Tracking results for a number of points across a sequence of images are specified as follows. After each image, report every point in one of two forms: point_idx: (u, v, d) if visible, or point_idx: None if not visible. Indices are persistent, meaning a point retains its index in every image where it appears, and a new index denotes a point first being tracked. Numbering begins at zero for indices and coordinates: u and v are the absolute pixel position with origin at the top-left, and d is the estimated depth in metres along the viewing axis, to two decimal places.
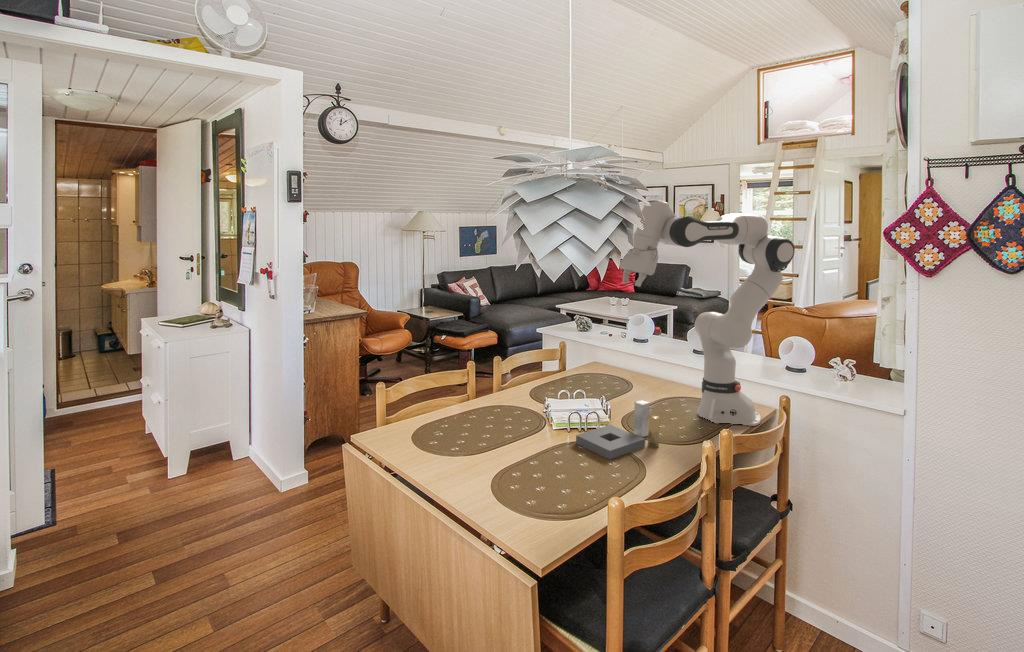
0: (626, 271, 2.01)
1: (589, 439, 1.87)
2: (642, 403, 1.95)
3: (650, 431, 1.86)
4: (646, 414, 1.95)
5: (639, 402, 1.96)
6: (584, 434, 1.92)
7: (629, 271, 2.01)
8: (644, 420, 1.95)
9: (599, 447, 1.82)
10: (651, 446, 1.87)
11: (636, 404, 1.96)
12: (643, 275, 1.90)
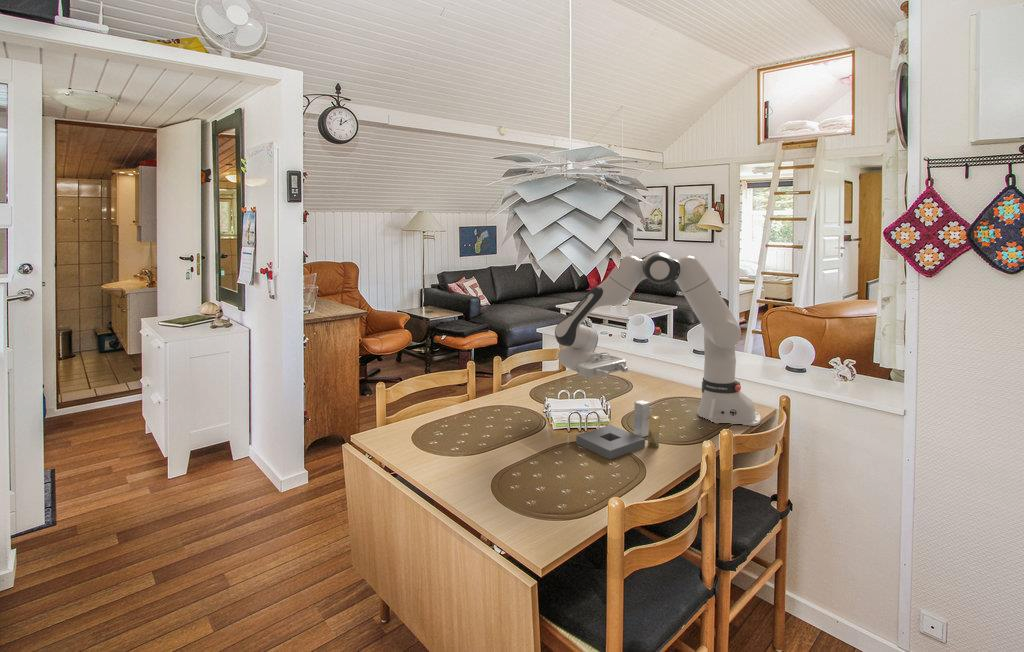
0: (619, 368, 2.10)
1: (589, 439, 1.87)
2: (642, 403, 1.95)
3: (650, 431, 1.86)
4: (646, 414, 1.95)
5: (639, 402, 1.96)
6: (584, 434, 1.92)
7: (618, 365, 2.10)
8: (644, 420, 1.95)
9: (599, 447, 1.82)
10: (651, 446, 1.87)
11: (636, 404, 1.96)
12: (596, 372, 2.03)
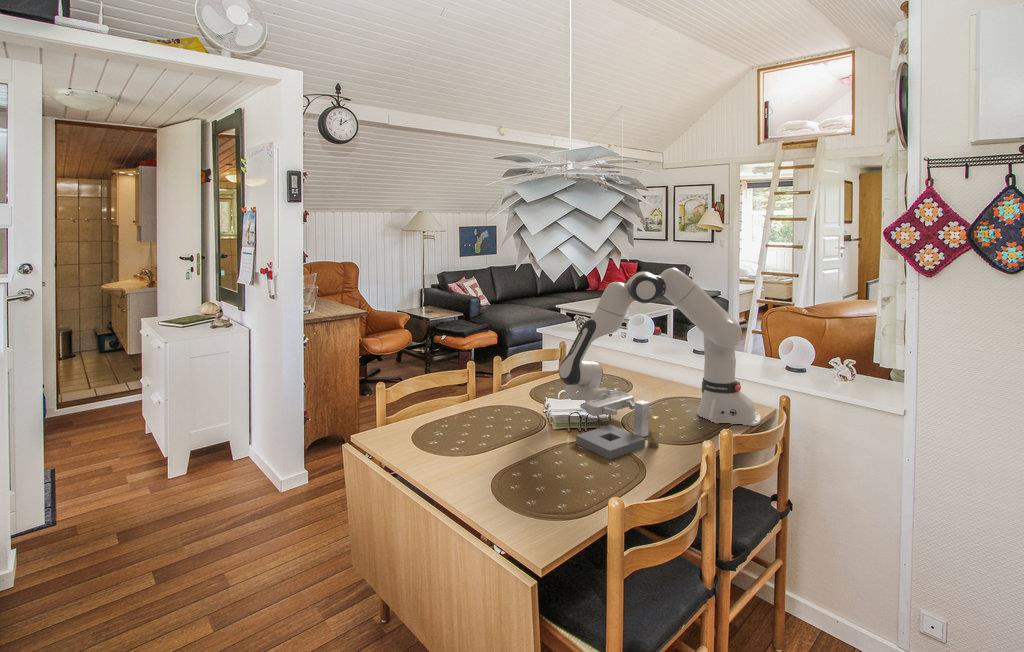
0: (627, 405, 2.10)
1: (589, 439, 1.87)
2: (642, 403, 1.95)
3: (650, 431, 1.86)
4: (646, 414, 1.95)
5: (639, 402, 1.96)
6: (584, 434, 1.92)
7: (626, 402, 2.10)
8: (644, 420, 1.95)
9: (599, 447, 1.82)
10: (651, 446, 1.87)
11: (636, 404, 1.96)
12: (604, 410, 2.03)
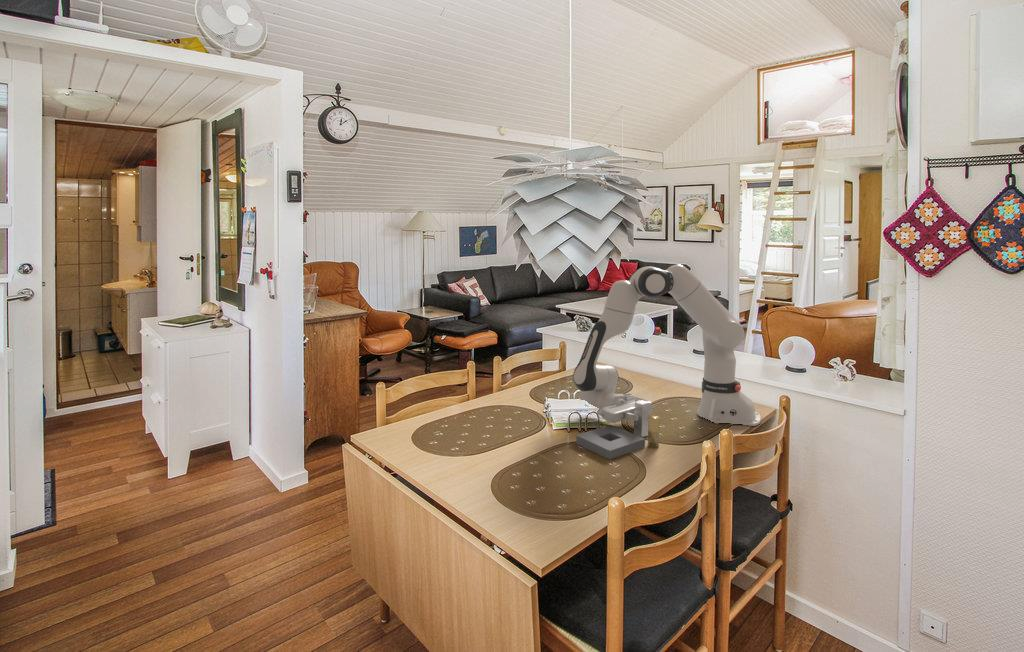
0: None
1: (589, 439, 1.87)
2: (642, 403, 1.95)
3: (650, 431, 1.86)
4: (646, 414, 1.95)
5: (639, 402, 1.96)
6: (584, 434, 1.92)
7: None
8: (644, 420, 1.95)
9: (599, 447, 1.82)
10: (651, 446, 1.87)
11: (636, 404, 1.96)
12: (626, 415, 1.97)
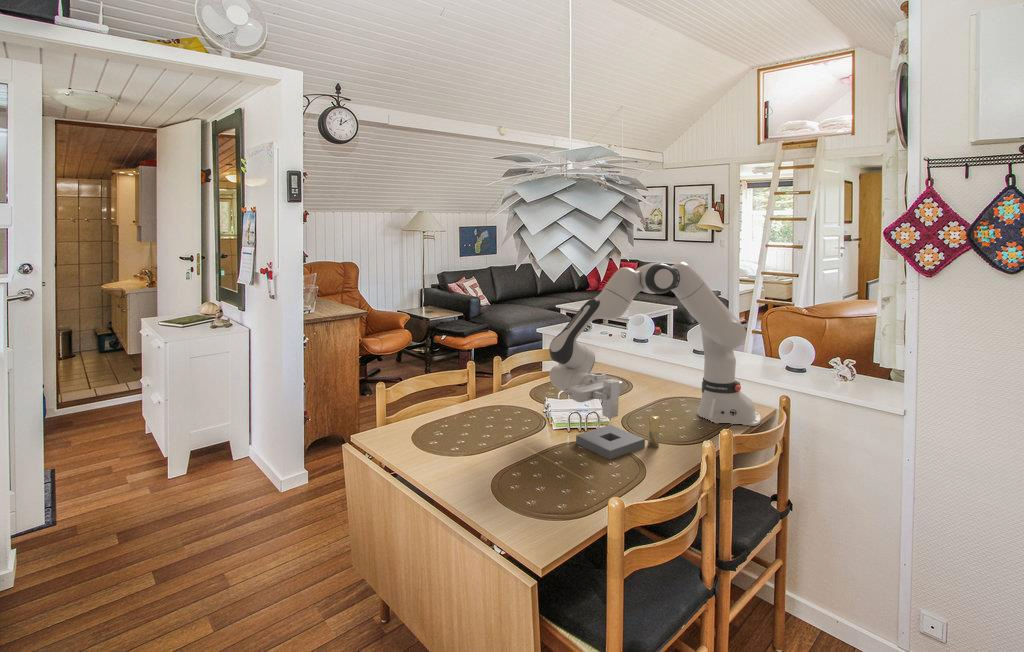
0: None
1: (589, 439, 1.87)
2: (611, 382, 1.84)
3: (650, 431, 1.86)
4: (615, 393, 1.85)
5: (608, 381, 1.85)
6: (584, 434, 1.92)
7: None
8: (613, 399, 1.85)
9: (599, 447, 1.82)
10: (651, 446, 1.87)
11: (605, 383, 1.85)
12: (594, 395, 1.87)
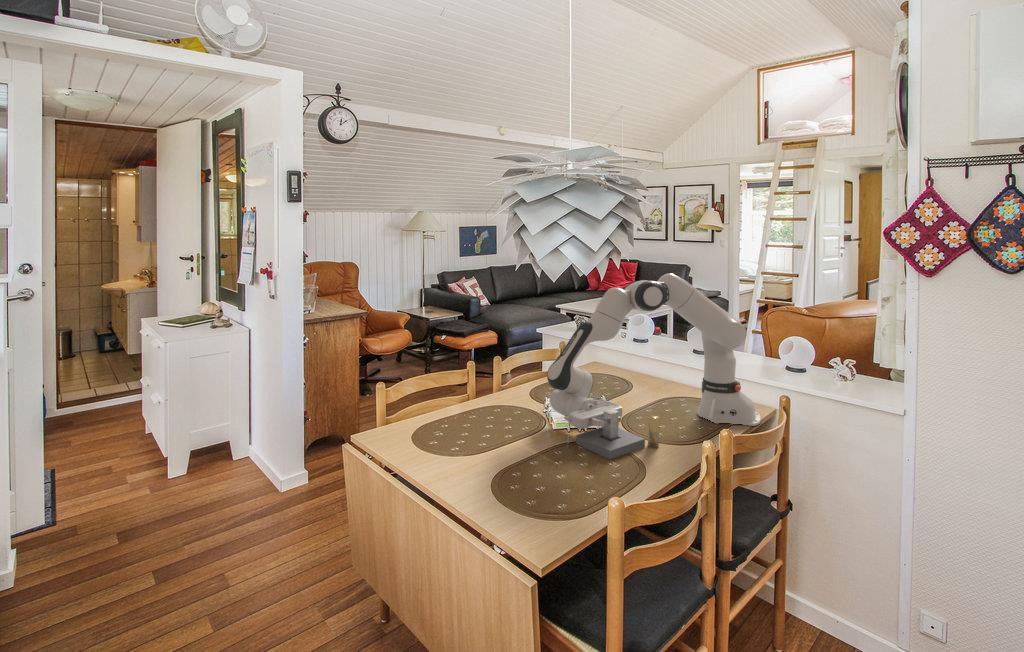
0: None
1: (589, 439, 1.87)
2: (611, 412, 1.86)
3: (650, 431, 1.86)
4: (615, 424, 1.87)
5: (608, 411, 1.87)
6: (584, 434, 1.92)
7: None
8: (612, 430, 1.87)
9: (599, 447, 1.82)
10: (651, 446, 1.87)
11: (605, 413, 1.87)
12: (592, 421, 1.87)
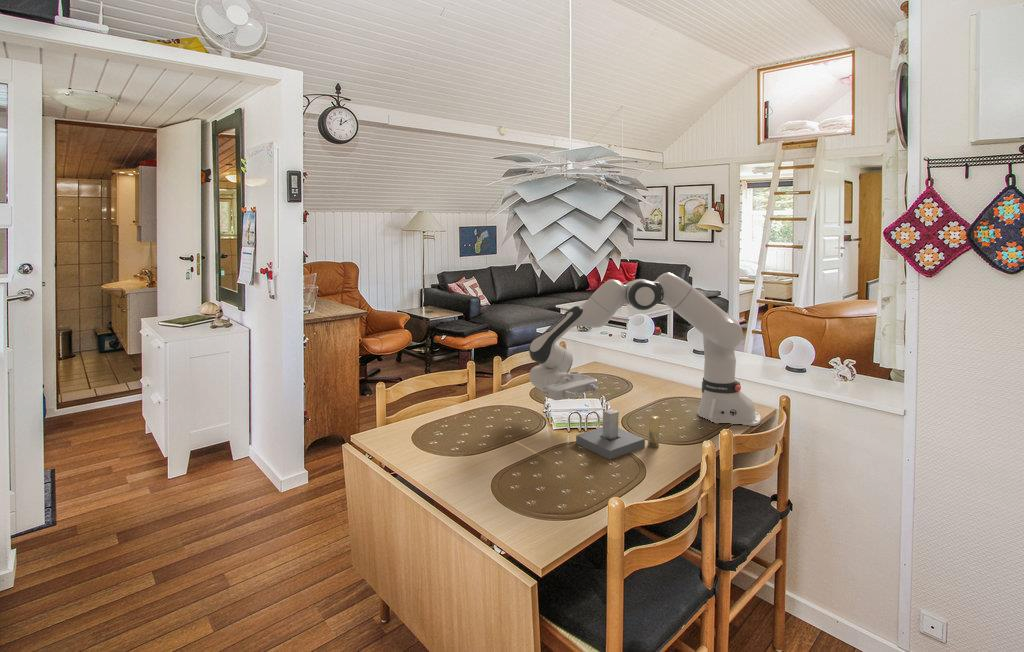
0: (590, 389, 2.03)
1: (589, 439, 1.87)
2: (610, 412, 1.86)
3: (650, 431, 1.86)
4: (615, 424, 1.87)
5: (607, 411, 1.87)
6: (584, 434, 1.92)
7: (589, 386, 2.03)
8: (612, 430, 1.87)
9: (599, 447, 1.82)
10: (651, 446, 1.87)
11: (604, 413, 1.87)
12: (565, 394, 1.96)
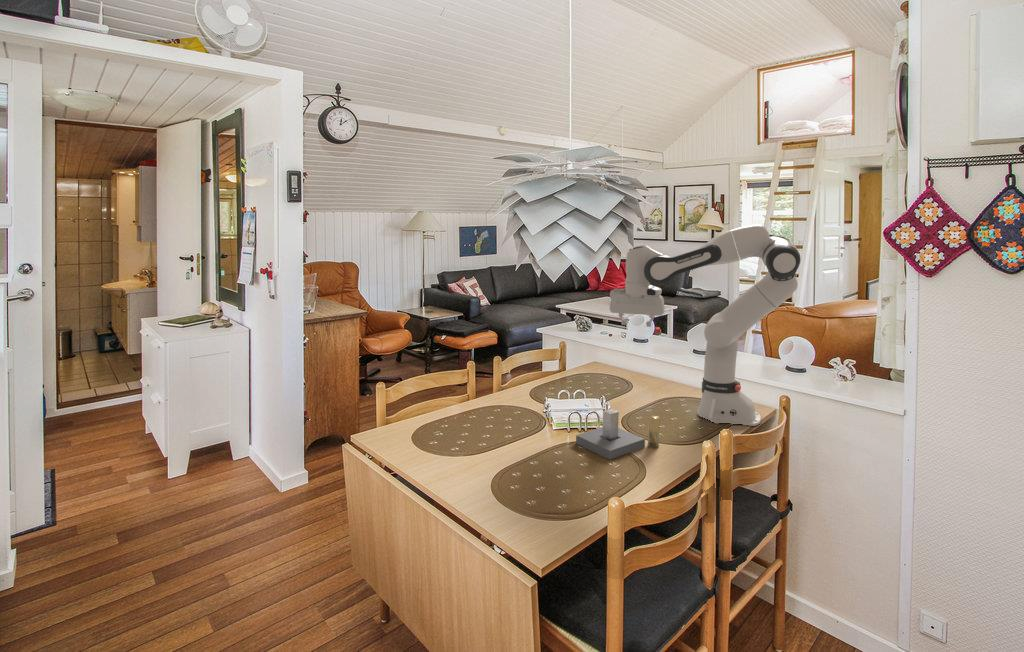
0: None
1: (589, 439, 1.87)
2: (610, 412, 1.86)
3: (650, 431, 1.86)
4: (615, 424, 1.87)
5: (607, 411, 1.87)
6: (584, 434, 1.92)
7: None
8: (612, 430, 1.87)
9: (599, 447, 1.82)
10: (651, 446, 1.87)
11: (604, 413, 1.87)
12: None
